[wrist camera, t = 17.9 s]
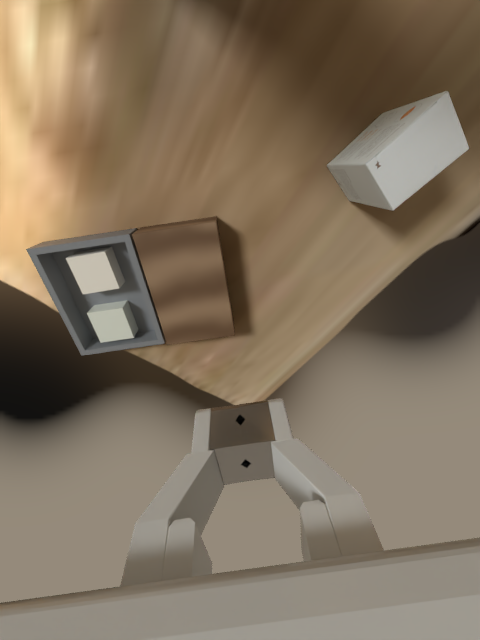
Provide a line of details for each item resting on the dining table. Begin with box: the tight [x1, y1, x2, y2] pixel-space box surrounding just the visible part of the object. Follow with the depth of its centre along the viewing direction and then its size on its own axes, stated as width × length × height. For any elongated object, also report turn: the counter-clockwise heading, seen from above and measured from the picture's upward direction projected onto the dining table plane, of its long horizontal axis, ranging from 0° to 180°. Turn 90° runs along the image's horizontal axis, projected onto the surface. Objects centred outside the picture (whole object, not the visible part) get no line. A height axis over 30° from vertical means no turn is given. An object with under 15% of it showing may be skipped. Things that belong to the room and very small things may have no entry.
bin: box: [26, 228, 166, 355], centre depth 38 cm, size 16×12×4 cm
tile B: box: [87, 300, 138, 343], centre depth 40 cm, size 5×5×2 cm
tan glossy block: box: [132, 217, 235, 345], centre depth 38 cm, size 16×10×4 cm, turn 7°
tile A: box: [66, 247, 125, 294], centre depth 36 cm, size 5×5×2 cm
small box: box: [327, 91, 469, 211], centre depth 29 cm, size 8×6×10 cm
